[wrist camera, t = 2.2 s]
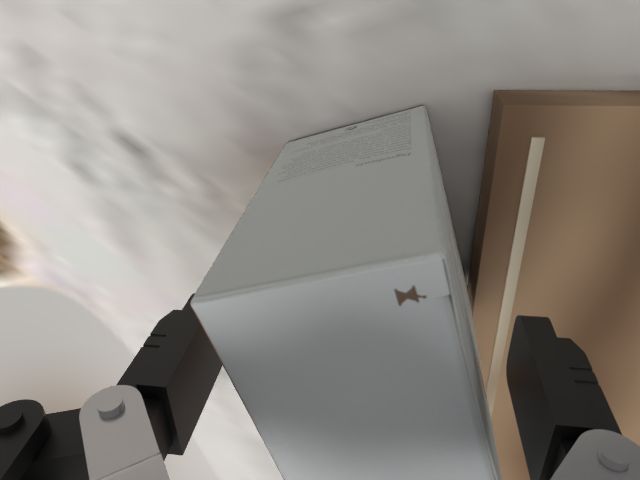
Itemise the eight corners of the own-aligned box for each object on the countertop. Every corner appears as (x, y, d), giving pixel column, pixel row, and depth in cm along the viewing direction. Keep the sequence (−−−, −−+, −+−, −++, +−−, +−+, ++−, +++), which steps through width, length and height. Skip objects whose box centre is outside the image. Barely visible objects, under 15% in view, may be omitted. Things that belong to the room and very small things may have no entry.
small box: (284, 139, 20) (177, 296, 11) (428, 100, 18) (447, 245, 9) (343, 303, 23) (299, 528, 14) (468, 282, 21) (510, 520, 12)
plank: (820, 91, 16) (872, 108, 14) (622, 534, 28) (637, 575, 26) (494, 90, 18) (504, 105, 16) (436, 511, 29) (438, 547, 27)
